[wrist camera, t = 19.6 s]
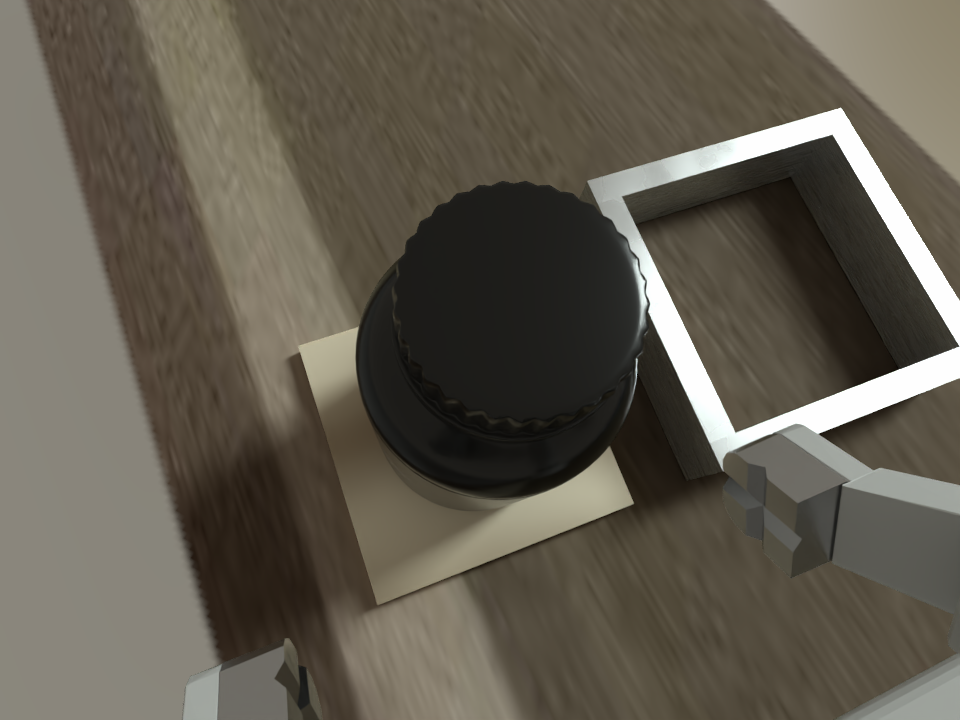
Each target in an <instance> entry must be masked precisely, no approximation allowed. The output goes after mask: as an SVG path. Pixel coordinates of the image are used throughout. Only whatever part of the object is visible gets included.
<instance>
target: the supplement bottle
mask: <svg viewBox="0 0 960 720" xmlns="http://www.w3.org/2000/svg"><path fill="white" fill-rule="evenodd" d="M646 287H647V280H646V278H645V277H644V275H643V274H642V273H641V271H640V262H639V258H638V257H637V256H636V254H635V253H634V252H633V251H632V250H631V249H630V245H629V242H628V239H627V238H626V237H625V236H624V235H623V234H621V233H620V232H618V231H617V229H616V227H615V224H614V223H613V221H612V220H611V219H609V218H608V217H606V216H603V215H601V214H600V213H599V212H598V210H597V208H596V207H595V206H594V205H593V204H590V203H587V202H583V201H581V200H579V199H578V198H577V197H576V196H575V195H574V194H573V193H568V192H560V191H558V190H557V189H555V188H554V187H552V186H550V185H540V186H537V185H534V184H532V183H530V182H527V181H524V182H519V183H515V184H513V183H509V182H505V181H501V182H499V183H496V184H494V185H492V186H486V185H479V186H477V187H475V188H474V189H473V190H471V191H470V192H463V193H457V194H456V195H455V196H454V197H453V198H452V199H451V200H450V202H448V203H444V204H441V205H438V206H437V207H436V208H435V210H434V212H433V214H432V216H430V217H428V218H426V219H424V220H422V221H421V222H420V223H419V226H418V229H417V233H416V234H415V235H413V236H412V237H410V238H409V239H408V240H407V241H406V245H405V254H404V255H403V256H402V257H401V258H399V259H398V260H397V261H396V262H395V263H394V264H393V265H392V266H391V267H390V268H389V269H388V270H387V272H386V273H385V274H384V276H383V277H382V278H381V279H380V281H379V282H378V284H377V285H376V287H375V289H374V290H373V292H372V294H371V296H370V298H369V300H368V302H367V304H366V306H365V309H364V311H363V314H362V317H361V320H360V324H359V328H358V333H357V340H356V352H355V362H356V375H357V381H358V387H359V392H360V395H361V399H362V403H363V405H364V408H365V411H366V413H367V416H368V418H369V421H370V423H371V425H372V428H373V430H374V432H375V435H376V437H377V439H378V442H379V444H380V446H381V449H382V451H383V453H384V455H385V457H386V459H387V461H388V462H389V464H390V465H391V467H392V468H393V470H394V471H395V473H396V474H397V475H398V477H399V478H400V479H401V480H402V481H403V482H404V483H405V484H406V485H407V486H408V487H409V488H410V489H412V490H413V491H414V492H415V493H417V494H418V495H420V496H421V497H423V498H425V499H427V500H428V501H430V502H433V503H435V504H437V505H440V506H443V507H446V508H450V509H455V510H461V511H484V510H491V509H496V508H500V507H504V506H507V505H510V504H513V503H515V502H518V501H521V500H524V499H527V498H530V497H533V496H535V495H538V494H541V493H544V492H547V491H549V490H551V489H554V488H556V487H558V486H560V485H562V484H564V483H566V482H568V481H569V480H571V479H573V478H574V477H576V476H577V475H579V474H580V473H581V472H583V471H584V470H586V469H587V468H588V467H589V466H591V465H592V464H593V463H594V462H595V461H596V460H597V459H598V458H599V457H600V456H601V455H602V454H603V453H604V452H605V451H606V450H607V448H608V447H609V446H610V445H611V443H612V442H613V440H614V439H615V438H616V436H617V434H618V433H619V431H620V429H621V427H622V426H623V424H624V421H625V419H626V417H627V415H628V412H629V409H630V406H631V403H632V400H633V396H634V392H635V387H636V379H637V357H638V356H639V355H640V354H641V353H642V351H643V337H644V336H645V334H646V333H647V331H648V329H649V323H648V319H647V313H648V310H649V308H650V301H649V298H648V297H647V295H646Z"/></svg>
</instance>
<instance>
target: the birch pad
mask: <svg viewBox="0 0 960 720" xmlns="http://www.w3.org/2000/svg"><path fill="white" fill-rule="evenodd" d="M358 328H359V327H357V328H354V329H351V330H348V331H344V332H341V333H338V334H335V335H332V336H328V337H325V338H322V339H319V340H316V341H312V342H309V343H306V344H303V345H299V346H298V347H299V350H300V353H301V357H302V360H303V363H304V366H305V370H306V373H307V376H308V379H309V383H310V386H311V389H312V393H313V396H314V399H315V402H316V406H317V409H318V412H319V416H320V419H321V422H322V425H323V429H324V432H325V435H326V438H327V442H328V445H329V448H330V452H331V455H332V458H333V461H334V465H335V468H336V471H337V474H338V478H339V481H340V484H341V488H342V491H343V494H344V497H345V501H346V504H347V507H348V511H349V514H350V517H351V520H352V524H353V527H354V530H355V533H356V537H357V540H358V543H359V547H360V550H361V553H362V556H363V560H364V563H365V566H366V569H367V573H368V576H369V579H370V583H371V586H372V589H373V592H374V596H375V599H376V602H377V605H380V604H382V603H385V602H387V601H390V600H392V599H395V598H397V597H400V596H402V595H405V594H408V593H410V592H413V591H415V590H418V589H420V588H423V587H425V586H428V585H430V584H433V583H435V582H438V581H440V580H443V579H445V578H448V577H450V576H453V575H456V574H458V573H461V572H463V571H466V570H468V569H471V568H473V567H476V566H478V565H481V564H483V563H486V562H488V561H491V560H493V559H496V558H498V557H501V556H504V555H506V554H509V553H511V552H514V551H516V550H519V549H521V548H524V547H526V546H529V545H531V544H534V543H536V542H539V541H541V540H544V539H546V538H549V537H552V536H554V535H557V534H559V533H562V532H564V531H567V530H569V529H572V528H574V527H577V526H579V525H582V524H584V523H587V522H589V521H592V520H595V519H597V518H600V517H602V516H605V515H607V514H610V513H612V512H615V511H617V510H620V509H622V508H625V507H627V506H630V505H632V504H634V502H633V500H632V498H631V495H630V493H629V491H628V488H627V486H626V483H625V481H624V479H623V476H622V474H621V472H620V469H619V467H618V465H617V462H616V460H615V458H614V455H613V453H612V451H611V448H610V446H609V447H608V448H607V450H606V451H605V452H604V453H603V454H602V455H601V456H600V457H599V458H598V459H597V460H596V461H595V462H594V463H593V464H592V465H591V466H589V467H588V468H587V469H586V470H584V471H583V472H581V473H580V474H579V475H577V476H576V477H574V478H573V479H571V480H569V481H568V482H566V483H564V484H562V485H560V486H558V487H556V488H554V489H551V490H549V491H547V492H544V493H541V494H538V495H535V496H533V497H530V498H527V499H524V500H521V501H518V502H515V503H513V504H510V505H507V506H504V507H500V508H496V509H491V510H484V511H461V510H455V509H450V508H446V507H443V506H440V505H437V504H435V503H433V502H430V501H428V500H427V499H425V498H423V497H421V496H420V495H418V494H417V493H415V492H414V491H413V490H412V489H410V488H409V487H408V486H407V485H406V484H405V483H404V482H403V481H402V480H401V479H400V478H399V477H398V475H397V474H396V473H395V471H394V470H393V468H392V467H391V465H390V464H389V462H388V461H387V459H386V457H385V455H384V453H383V451H382V449H381V446H380V444H379V442H378V439H377V437H376V435H375V432H374V430H373V428H372V425H371V423H370V421H369V418H368V416H367V413H366V411H365V408H364V405H363V403H362V399H361V395H360V392H359V387H358V381H357V375H356V362H355V352H356V340H357V333H358Z"/></svg>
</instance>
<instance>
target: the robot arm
mask: <svg viewBox="0 0 960 720" xmlns="http://www.w3.org/2000/svg"><path fill="white" fill-rule="evenodd" d="M723 471H724V472H726V473H727V474H728V475H729V478H728V480H727V481H726V483H725V485H724V487H723V502H724V505H725V507H726V510H727V512H728V515H729V516H730V518H731V519H732V521H733V522H734V523H735V525H736V526H737V527H738V528H739V529H740V530H741V531H742V532H743V533H744V534H745V535H747V536H750V537H753V538H756V539H759V540H762V546H763V552H764V553H765V554H766V555H767V556H768V557H769V558H770V559H771V560H772V561H773V562H774V563H775V564H776V565H777V566H778V567H779V568H780V569H781V570H782V571H784V572H785V573H786V574H787V575H788V576H789V577H790V578H793V577H795V576H798V575H800V574H802V573H805V572H807V571H809V570H811V569H814V568H816V567H818V566H821V565H823V564H825V563H827V562H830V561H832V563H833V564H835V565H837V566H840V567H842V568H844V569H847V570H849V571H852V572H854V573H856V574H859V575H861V576H863V577H866V578H868V579H871V580H873V581H875V582H878V583H880V584H882V585H885V586H887V587H890V588H892V589H894V590H897V591H899V592H902V593H904V594H906V595H909V596H911V597H913V598H916V599H918V600H921V601H923V602H925V603H928V604H930V605H932V606H935V607H937V608H940V609H942V610H944V611H947V612H949V613H951V614H954V616H953V620H952V623H951V627H950V630H949V633H948V646H950V647H951V648H952V649H953V650H954V651H955V652H957V654H955V655H953V656H951V657H949V658H947V659H946V660H944V661H942V662H940V663H938V664H936V665H934V666H933V667H931V668H929V669H927V670H925V671H923V672H921V673H920V674H918V675H916V676H914V677H912V678H910V679H908V680H907V681H905V682H903V683H901V684H899V685H897V686H895V687H893V688H892V689H890V690H888V691H886V692H884V693H882V694H880V695H879V696H877V697H875V698H873V699H871V700H869V701H867V702H866V703H864V704H862V705H860V706H858V707H856V708H854V709H853V710H851V711H849V712H847V713H845V714H843V715H841V716H840V717H838V718H836V719H834V720H960V485H955V484H951V483H946V482H942V481H937V480H933V479H928V478H924V477H919V476H915V475H910V474H906V473H901V472H897V471H892V470H888V469H883V468H879V469H877V470H874V471H873V470H872V469H870V468H869V467H867V466H866V465H864V464H863V463H861V462H859V461H858V460H856V459H855V458H853V457H852V456H850V455H849V454H847V453H846V452H844V451H843V450H841V449H840V448H838V447H837V446H835V445H834V444H832V443H831V442H829V441H828V440H826V439H825V438H823V437H822V436H820V435H819V434H817V433H816V432H814V431H813V430H811V429H809V428H808V427H806V426H805V425H802V424H798V423H795V424H793V425H790V426H788V427H786V428H783V429H781V430H779V431H776V432H774V433H772V434H769V435H766V436H764V437H762V438H759V439H757V440H755V441H752V442H750V443H748V444H745V445H743V446H741V447H739V448H736V449H734V450H732V451H729V452H727V453H726V455H725V456H724V458H723ZM182 720H322V712H321V706H320V702H319V698H318V694H317V690H316V687H315V685H314V682H313V680H312V677H311V675H310V674H309V672H308V670H307V668H306V667H302V666H299V665H298V659H297V650H296V649H295V647H294V646H293V644H292V642H291V641H290V639H289V638H288V639H283V640H280V641H278V642H275V643H273V644H270V645H268V646H265V647H263V648H260V649H257V650H255V651H252V652H250V653H247V654H245V655H242V656H240V657H237V658H234V659H232V660H229V661H227V662H224V663H223V664H220V665H218V666H215V667H213V668H210V669H208V670H205V671H203V672H200V673H198V674H195V675H193V676H190V678H189V681H188V683H187V685H186V687H185V694H184V704H183V714H182Z"/></svg>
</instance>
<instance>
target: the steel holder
mask: <svg viewBox="0 0 960 720" xmlns="http://www.w3.org/2000/svg"><path fill="white" fill-rule="evenodd" d="M789 177H791V179H792V181H793V182H794V184H795V186H796V188H797V190H798V191H799V193H800V195H801V197H802V198H803V200H804V202H805V204H806V205H807V207H808V209H809V211H810V212H811V214H812V216H813V218H814V220H815V221H816V223H817V225H818V227H819V228H820V230H821V232H822V234H823V235H824V237H825V239H826V241H827V243H828V244H829V246H830V248H831V250H832V251H833V253H834V255H835V257H836V258H837V260H838V262H839V264H840V265H841V267H842V269H843V271H844V273H845V274H846V276H847V278H848V280H849V281H850V283H851V285H852V287H853V288H854V290H855V292H856V294H857V295H858V297H859V299H860V301H861V303H862V304H863V306H864V308H865V310H866V311H867V313H868V315H869V317H870V318H871V320H872V322H873V324H874V326H875V327H876V329H877V331H878V333H879V334H880V336H881V338H882V340H883V341H884V343H885V345H886V347H887V348H888V350H889V352H890V354H891V356H892V357H893V359H894V361H895V363H896V364H897V366H898V368H899V370H896V371H893V372H891V373H888V374H886V375H883V376H880V377H878V378H875V379H873V380H870V381H868V382H865V383H862V384H860V385H857V386H855V387H852V388H849V389H847V390H844V391H842V392H839V393H836V394H834V395H831V396H829V397H826V398H823V399H821V400H818V401H816V402H813V403H810V404H808V405H805V406H803V407H800V408H797V409H795V410H792V411H790V412H787V413H784V414H782V415H779V416H777V417H774V418H771V419H769V420H766V421H764V422H761V423H758V424H756V425H753V426H751V427H748V428H746V429H743V430H740V431H738V432H735V431H734V429H733V427H732V425H731V423H730V421H729V419H728V417H727V414H726V412H725V410H724V408H723V406H722V404H721V402H720V400H719V398H718V396H717V394H716V392H715V389H714V387H713V385H712V383H711V381H710V379H709V377H708V375H707V373H706V371H705V369H704V367H703V365H702V362H701V360H700V358H699V356H698V354H697V352H696V350H695V348H694V346H693V344H692V342H691V340H690V337H689V335H688V333H687V331H686V329H685V327H684V325H683V323H682V321H681V319H680V317H679V315H678V313H677V310H676V308H675V306H674V304H673V302H672V300H671V298H670V296H669V294H668V292H667V290H666V288H665V286H664V283H663V281H662V279H661V277H660V275H659V273H658V271H657V269H656V267H655V265H654V263H653V261H652V258H651V256H650V254H649V252H648V250H647V248H646V246H645V244H644V242H643V240H642V238H641V236H640V234H639V231H638V229H637V227H636V225H635V224H638V223H641V222H645V221H648V220H651V219H654V218H658V217H661V216H664V215H668V214H671V213H674V212H677V211H681V210H684V209H687V208H690V207H694V206H697V205H700V204H704V203H707V202H710V201H713V200H717V199H720V198H723V197H726V196H730V195H733V194H736V193H739V192H743V191H746V190H749V189H753V188H756V187H759V186H762V185H766V184H769V183H772V182H775V181H779V180H782V179H785V178H789ZM579 200H581V201H583V202H587V203H590V204H593V205H594V206H595V207H596V208H597V210H598V212H599V213H600V214H601V215H603V216H606V217H608V218H609V219H611V220H612V221H613V223H614V224H615V227H616V229H617V231H618V232H620V233H621V234H623V235H624V236H625V237H626V238H627V239H628V242H629V245H630V249H631V250H632V251H633V252H634V253H635V254H636V256H637V257H638V258H639V262H640V271H641V273H642V274H643V275H644V277H645V278H646V280H647V287H646V295H647V297H648V298H649V301H650V308H649V310H648V313H647V319H648V323H649V329H648V331H647V333H646V334H645V336H644V337H643V351H642V353H641V354H640V355H639V356H638V357H637V372H638V375H639V377H640V379H641V381H642V384H643V386H644V388H645V390H646V392H647V395H648V397H649V399H650V401H651V404H652V406H653V408H654V410H655V412H656V415H657V417H658V419H659V421H660V423H661V426H662V428H663V430H664V432H665V435H666V437H667V439H668V441H669V443H670V446H671V448H672V450H673V452H674V455H675V457H676V459H677V461H678V463H679V466H680V468H681V470H682V472H683V475H684V477H685V479H686V481H687V480H691V479H695V478H699V477H703V476H707V475H711V474H715V473H719V472H723V458H724V456H725V455H726V453H727V452H729V451H732V450H734V449H736V448H739V447H741V446H743V445H745V444H748V443H750V442H752V441H755V440H757V439H759V438H762V437H764V436H766V435H769V434H772V433H774V432H776V431H779V430H781V429H783V428H786V427H788V426H790V425H793V424H795V423H798V424H802V425H805V426H806V427H808V428H809V429H811V430H813V431H814V432H816V433H817V434H819V433H821V432H824V431H826V430H829V429H831V428H834V427H836V426H839V425H841V424H844V423H847V422H849V421H852V420H854V419H857V418H859V417H862V416H864V415H867V414H869V413H872V412H874V411H877V410H879V409H882V408H884V407H887V406H889V405H892V404H894V403H897V402H899V401H902V400H904V399H907V398H910V397H912V396H915V395H917V394H920V393H922V392H925V391H927V390H930V389H932V388H935V387H937V386H940V385H942V384H945V383H947V382H950V381H952V380H955V379H957V378H960V302H959V300H958V299H957V297H956V296H955V294H954V292H953V291H952V289H951V287H950V286H949V284H948V282H947V281H946V279H945V278H944V276H943V274H942V273H941V271H940V269H939V268H938V266H937V264H936V263H935V261H934V260H933V258H932V256H931V255H930V253H929V251H928V250H927V248H926V246H925V245H924V243H923V242H922V240H921V238H920V237H919V235H918V233H917V232H916V230H915V228H914V227H913V225H912V224H911V222H910V220H909V219H908V217H907V215H906V214H905V212H904V210H903V209H902V207H901V206H900V204H899V202H898V201H897V199H896V197H895V196H894V194H893V192H892V191H891V189H890V187H889V186H888V184H887V183H886V181H885V179H884V178H883V176H882V174H881V173H880V171H879V169H878V168H877V166H876V165H875V163H874V161H873V160H872V158H871V156H870V155H869V153H868V151H867V150H866V148H865V147H864V145H863V143H862V142H861V140H860V138H859V137H858V135H857V133H856V132H855V130H854V129H853V127H852V125H851V124H850V122H849V120H848V119H847V117H846V115H845V114H844V112H843V111H842V109H841V108H840V109H836V110H833V111H829V112H826V113H822V114H819V115H816V116H812V117H809V118H805V119H802V120H798V121H795V122H791V123H788V124H784V125H781V126H777V127H774V128H770V129H767V130H763V131H760V132H756V133H753V134H749V135H746V136H742V137H739V138H735V139H732V140H728V141H725V142H722V143H718V144H715V145H711V146H708V147H704V148H701V149H697V150H694V151H690V152H687V153H683V154H680V155H676V156H673V157H669V158H666V159H662V160H659V161H655V162H652V163H648V164H645V165H641V166H638V167H634V168H631V169H628V170H624V171H621V172H617V173H614V174H610V175H607V176H603V177H600V178H596V179H593V180H589V181H587V183H586V185H585V187H584V189H583V192H582V194H581V196H580V199H579Z"/></svg>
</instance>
